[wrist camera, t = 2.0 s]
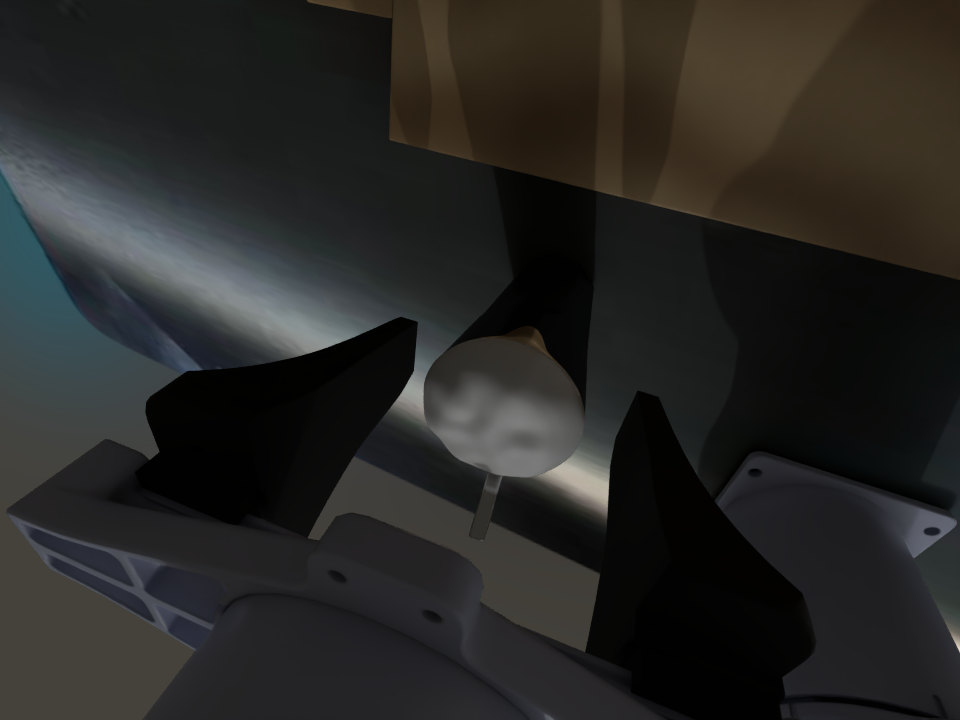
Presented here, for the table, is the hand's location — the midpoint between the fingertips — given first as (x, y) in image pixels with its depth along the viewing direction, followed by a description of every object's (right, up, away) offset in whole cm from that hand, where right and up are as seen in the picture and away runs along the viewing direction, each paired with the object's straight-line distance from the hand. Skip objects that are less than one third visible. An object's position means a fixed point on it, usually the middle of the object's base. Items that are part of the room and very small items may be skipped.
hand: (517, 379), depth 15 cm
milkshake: (+2, +3, +5) cm, 6 cm away
